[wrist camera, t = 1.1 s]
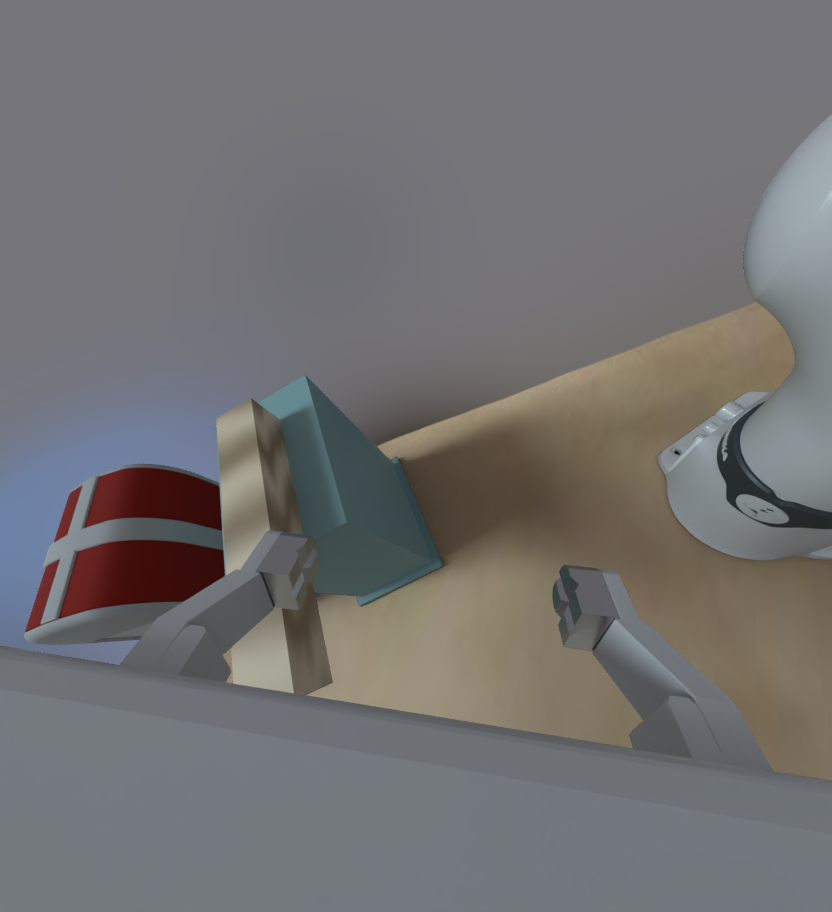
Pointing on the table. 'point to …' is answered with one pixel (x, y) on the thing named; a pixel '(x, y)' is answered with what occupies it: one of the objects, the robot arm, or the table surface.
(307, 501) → the tall teal upright box
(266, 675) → the rail
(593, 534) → the table surface
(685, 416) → the table surface
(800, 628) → the table surface
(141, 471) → the red striped toaster
